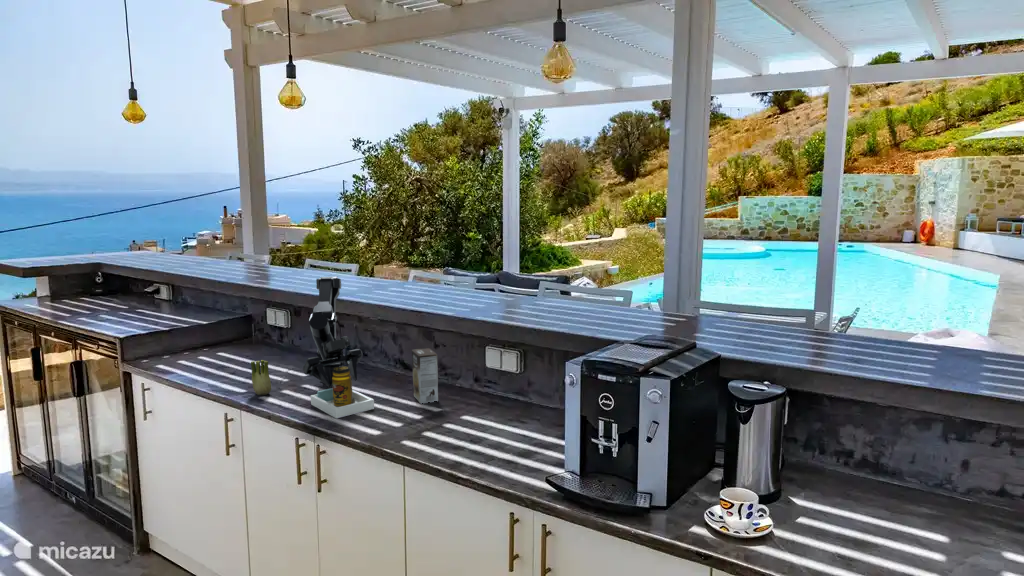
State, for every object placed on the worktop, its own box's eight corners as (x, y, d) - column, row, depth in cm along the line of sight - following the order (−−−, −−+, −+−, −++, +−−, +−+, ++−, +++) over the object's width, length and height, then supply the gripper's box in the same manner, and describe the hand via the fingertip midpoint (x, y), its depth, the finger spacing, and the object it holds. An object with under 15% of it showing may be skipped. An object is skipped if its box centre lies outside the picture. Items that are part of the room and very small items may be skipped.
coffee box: (412, 396, 218) (410, 349, 216) (431, 393, 220) (429, 347, 218) (419, 404, 210) (418, 355, 207) (439, 401, 212) (437, 353, 210)
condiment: (332, 409, 204) (330, 372, 202) (331, 400, 212) (329, 365, 210) (356, 406, 206) (354, 369, 204) (353, 398, 214) (352, 363, 212)
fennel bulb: (251, 395, 222) (248, 361, 220) (262, 391, 226) (260, 357, 224) (263, 397, 219) (260, 362, 217) (274, 393, 223) (272, 359, 221)
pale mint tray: (309, 403, 212) (309, 394, 211) (346, 395, 220) (345, 386, 220) (336, 418, 197) (335, 408, 197) (374, 408, 206) (373, 399, 205)
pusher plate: (317, 402, 210) (317, 391, 210) (346, 395, 217) (345, 385, 216) (319, 403, 210) (318, 392, 209) (347, 396, 216) (347, 385, 215)
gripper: (304, 333, 202) (322, 375, 195) (358, 324, 214) (377, 363, 207) (295, 353, 209) (312, 394, 202) (348, 344, 221) (366, 382, 214)
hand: (343, 383), depth 206 cm, fingers open, 9 cm apart
